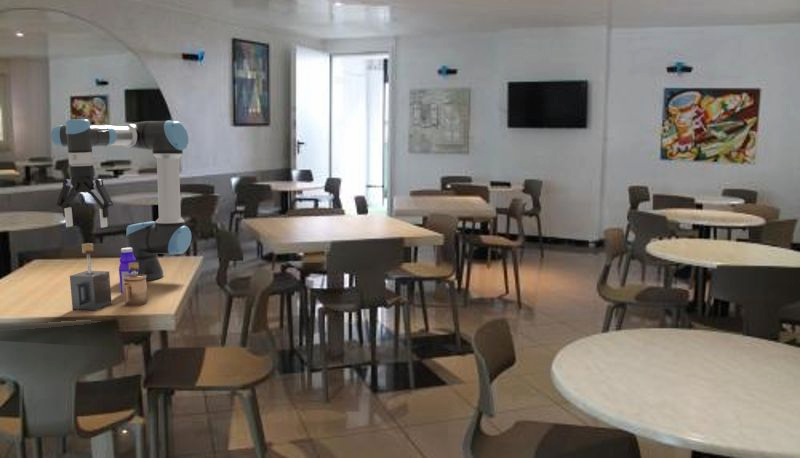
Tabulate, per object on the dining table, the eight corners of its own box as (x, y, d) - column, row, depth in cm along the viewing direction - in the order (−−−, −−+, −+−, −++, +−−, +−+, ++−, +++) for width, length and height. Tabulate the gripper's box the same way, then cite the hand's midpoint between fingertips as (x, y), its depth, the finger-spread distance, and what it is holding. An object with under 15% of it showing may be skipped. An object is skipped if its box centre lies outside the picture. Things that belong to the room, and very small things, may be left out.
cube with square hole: (89, 303, 252) (86, 270, 250) (111, 304, 250) (109, 271, 248) (66, 312, 240) (63, 277, 239) (89, 313, 239) (87, 278, 237)
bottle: (131, 296, 263) (128, 250, 260) (117, 295, 264) (114, 249, 261) (142, 291, 270) (139, 246, 267) (128, 291, 271) (125, 246, 269)
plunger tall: (89, 295, 250) (85, 242, 248) (106, 295, 249) (102, 242, 246) (76, 299, 244) (72, 245, 241) (94, 300, 242) (89, 245, 240)
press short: (132, 299, 257) (130, 260, 255) (152, 300, 255) (149, 261, 253) (115, 307, 246) (112, 266, 244) (135, 308, 245) (132, 266, 243)
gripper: (41, 165, 239) (47, 227, 242) (107, 165, 233) (112, 229, 237) (57, 164, 246) (62, 224, 249) (120, 164, 241) (125, 225, 244)
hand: (86, 226), depth 243 cm, fingers open, 13 cm apart
